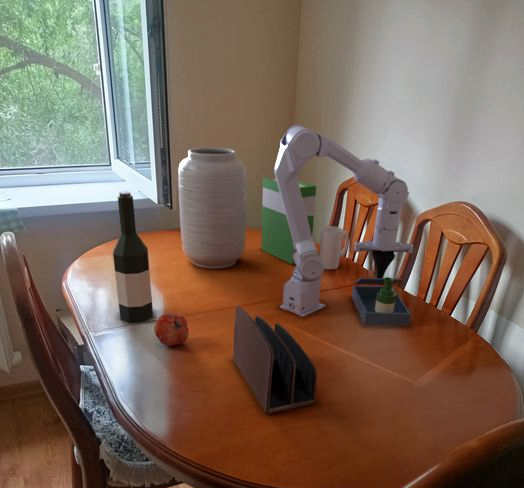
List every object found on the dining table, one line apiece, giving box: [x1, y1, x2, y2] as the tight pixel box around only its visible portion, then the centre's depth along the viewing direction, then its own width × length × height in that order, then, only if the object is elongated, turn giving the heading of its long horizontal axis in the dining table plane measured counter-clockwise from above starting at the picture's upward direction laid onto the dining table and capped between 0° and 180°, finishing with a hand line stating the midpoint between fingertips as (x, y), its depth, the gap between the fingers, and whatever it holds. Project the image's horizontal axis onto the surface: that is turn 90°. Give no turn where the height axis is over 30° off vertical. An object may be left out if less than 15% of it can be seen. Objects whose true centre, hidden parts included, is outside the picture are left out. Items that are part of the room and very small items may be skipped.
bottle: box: [374, 276, 397, 313], centre depth 121 cm, size 5×5×11 cm
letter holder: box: [232, 305, 318, 415], centre depth 95 cm, size 10×20×14 cm, turn 21°
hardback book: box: [260, 177, 317, 266], centre depth 160 cm, size 18×7×24 cm, turn 35°
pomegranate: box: [153, 312, 189, 347], centre depth 109 cm, size 7×7×10 cm
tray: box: [351, 285, 412, 327], centre depth 127 cm, size 17×11×4 cm, turn 1°
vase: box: [178, 147, 248, 270], centre depth 150 cm, size 20×20×34 cm
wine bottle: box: [112, 190, 154, 324], centre depth 115 cm, size 8×8×30 cm
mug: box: [318, 225, 350, 270], centre depth 155 cm, size 10×7×12 cm, turn 115°
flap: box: [353, 277, 404, 286], centre depth 130 cm, size 8×11×1 cm
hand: (378, 278), depth 128 cm, fingers closed
